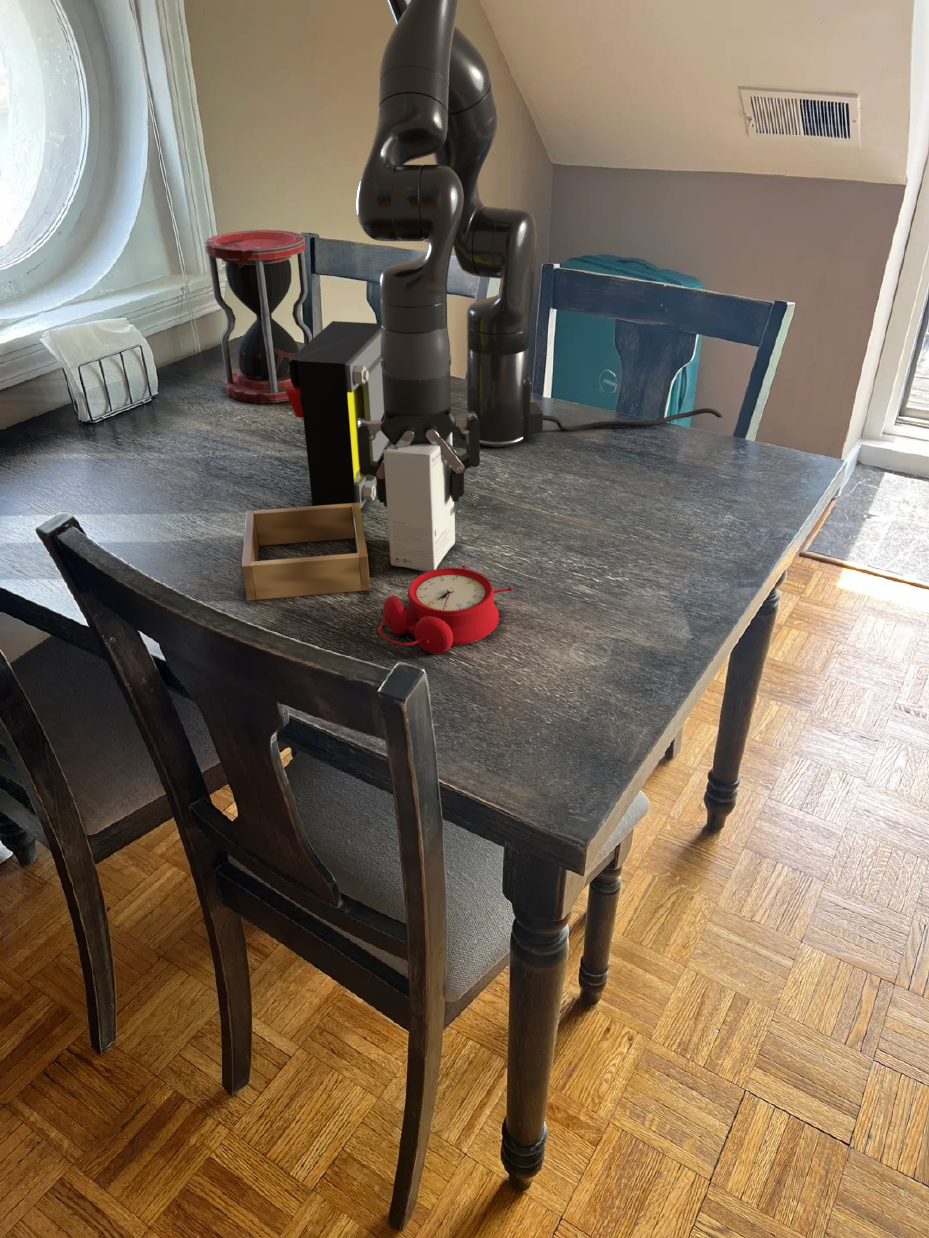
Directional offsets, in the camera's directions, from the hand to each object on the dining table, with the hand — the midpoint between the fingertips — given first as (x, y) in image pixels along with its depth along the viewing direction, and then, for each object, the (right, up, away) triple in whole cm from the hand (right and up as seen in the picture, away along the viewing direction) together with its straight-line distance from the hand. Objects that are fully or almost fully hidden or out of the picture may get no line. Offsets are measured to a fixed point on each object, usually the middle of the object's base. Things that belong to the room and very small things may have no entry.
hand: (420, 501), depth 112 cm
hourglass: (-29, +27, +55) cm, 68 cm away
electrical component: (-10, +5, +22) cm, 25 cm away
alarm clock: (+3, -15, -9) cm, 18 cm away
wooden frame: (-14, -7, +2) cm, 16 cm away
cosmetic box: (0, -6, +4) cm, 7 cm away
